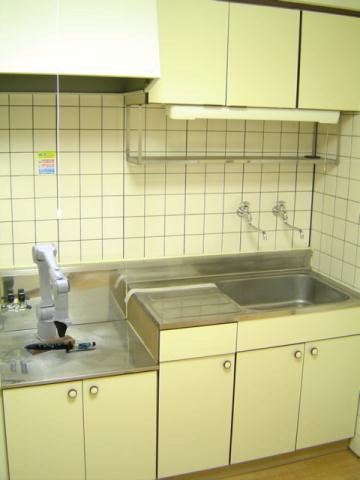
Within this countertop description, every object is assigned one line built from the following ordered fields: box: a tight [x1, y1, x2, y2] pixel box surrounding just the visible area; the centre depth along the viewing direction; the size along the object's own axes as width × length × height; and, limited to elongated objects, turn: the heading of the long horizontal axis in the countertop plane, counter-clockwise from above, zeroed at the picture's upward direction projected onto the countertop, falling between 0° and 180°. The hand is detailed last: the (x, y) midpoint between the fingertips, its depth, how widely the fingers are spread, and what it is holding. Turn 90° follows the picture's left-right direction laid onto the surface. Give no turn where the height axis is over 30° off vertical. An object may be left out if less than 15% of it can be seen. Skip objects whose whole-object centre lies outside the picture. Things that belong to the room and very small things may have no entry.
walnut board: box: [26, 334, 76, 356], centre depth 240 cm, size 7×20×2 cm, turn 129°
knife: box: [24, 341, 97, 354], centre depth 234 cm, size 31×3×4 cm, turn 107°
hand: (61, 337), depth 230 cm, fingers closed
